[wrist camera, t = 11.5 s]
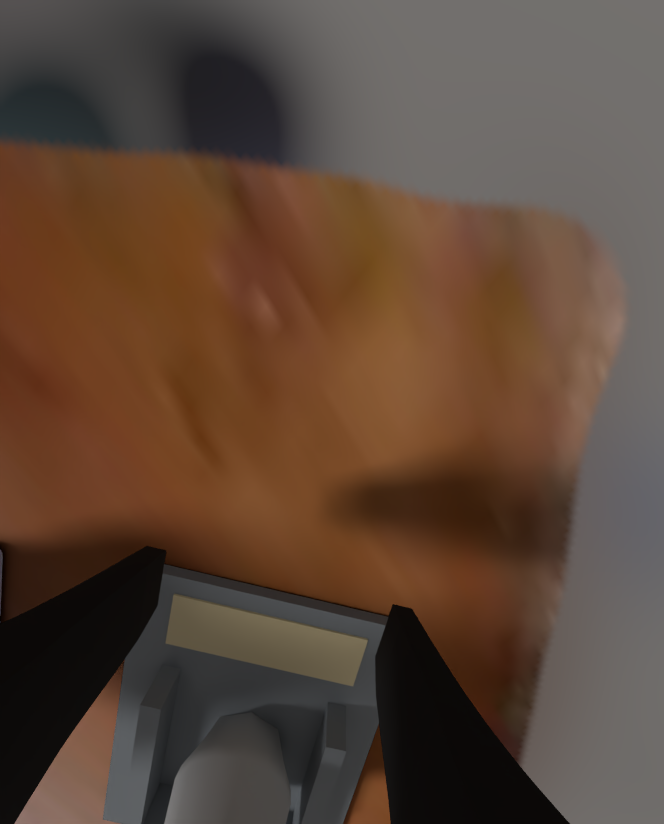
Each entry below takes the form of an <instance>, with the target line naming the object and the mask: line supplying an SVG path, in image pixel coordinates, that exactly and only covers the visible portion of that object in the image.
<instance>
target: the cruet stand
mask: <svg viewBox="0 0 664 824" xmlns="http://www.w3.org/2000/svg"><path fill="white" fill-rule="evenodd" d="M387 620H388V617H387V616H383V615H378V614H374V613H370V612H366V611H361V610H357V609H353V608H349V607H344V606H340V605H336V604H332V603H327V602H323V601H319V600H315V599H310V598H306V597H302V596H298V595H293V594H289V593H285V592H281V591H276V590H272V589H268V588H264V587H259V586H255V585H251V584H246V583H242V582H238V581H234V580H229V579H225V578H221V577H217V576H212V575H208V574H204V573H200V572H195V571H191V570H187V569H183V568H178V567H174V566H170V565H166V564H164V569H163V575H162V581H161V588H160V594H159V600H158V606H157V608H156V610H155V611H154V613H153V615H152V617H151V618H150V620H149V622H148V624H147V625H146V627H145V629H144V631H143V632H142V634H141V636H140V637H139V639H138V641H137V642H136V644H135V645H134V647H133V648H132V649H131V651H130V652H129V654H128V655H127V656H126V658H125V662H124V669H123V676H122V684H121V691H120V698H119V705H118V713H117V720H116V727H115V735H114V742H113V749H112V756H111V764H110V771H109V778H108V785H107V793H106V800H105V807H104V815H103V820H108V821H112V822H117V823H122V824H164V822H165V818H166V814H167V810H168V805H169V801H170V797H171V793H172V789H173V784H174V780H175V777H176V775H177V773H178V771H179V769H180V767H181V765H182V764H183V763H184V762H185V760H186V759H187V758H188V757H189V756H190V755H191V754H192V752H193V751H194V750H195V749H196V748H197V747H198V746H199V744H200V743H201V742H202V741H203V740H204V738H205V737H206V736H207V734H208V733H209V731H210V730H211V729H212V727H213V726H214V724H215V723H216V722H217V720H218V719H219V717H221V716H229V715H236V714H243V713H251V712H252V713H254V714H255V715H257V716H258V717H260V718H261V719H263V720H264V721H266V722H267V723H269V724H270V725H272V726H273V727H275V728H276V729H278V732H279V737H280V743H281V749H282V755H283V761H284V765H285V769H286V773H287V777H288V781H289V785H290V788H291V805H290V809H289V813H288V817H287V821H286V824H343V822H344V819H345V816H346V813H347V811H348V808H349V805H350V802H351V799H352V797H353V794H354V791H355V788H356V785H357V783H358V780H359V777H360V774H361V772H362V769H363V766H364V763H365V760H366V758H367V755H368V752H369V749H370V746H371V744H372V741H373V738H374V735H375V733H376V730H377V727H378V724H379V718H378V710H377V701H376V682H375V655H376V652H377V649H378V647H379V644H380V641H381V638H382V635H383V632H384V629H385V626H386V623H387Z"/></svg>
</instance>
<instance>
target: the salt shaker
mask: <svg viewBox="0 0 664 824" xmlns="http://www.w3.org/2000/svg"><path fill="white" fill-rule="evenodd" d="M290 805H291V788H290V785H289V781H288V777H287V773H286V769H285V765H284V761H283V755H282V749H281V743H280V737H279V732H278V729H276V728H275V727H273V726H272V725H270V724H269V723H267V722H266V721H264V720H263V719H261V718H260V717H258V716H257V715H255V714H254V713H252V712H251V713H243V714H236V715H229V716H221V717H219V719H218V720H217V722H216V723H215V724H214V726H213V727H212V729H211V730H210V731H209V733H208V734H207V736H206V737H205V738H204V740H203V741H202V742H201V743H200V744H199V746H198V747H197V748H196V749H195V750H194V751H193V752H192V754H191V755H190V756H189V757H188V758H187V759H186V760H185V762H184V763H183V764H182V765H181V767H180V769H179V771H178V773H177V775H176V777H175V780H174V784H173V789H172V793H171V797H170V801H169V805H168V810H167V814H166V818H165V822H164V824H286V821H287V817H288V813H289V809H290Z"/></svg>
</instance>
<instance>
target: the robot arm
mask: <svg viewBox="0 0 664 824" xmlns="http://www.w3.org/2000/svg"><path fill="white" fill-rule="evenodd" d="M165 556H166V550H162V549H157V548H153V547H149V546H146V547H144V548H143V549H141V550H139V551H137V552H135V553H134V554H132V555H130V556H128V557H127V558H125V559H123V560H121V561H120V562H118V563H116V564H115V565H113V566H111V567H109V568H108V569H106V570H104V571H102V572H101V573H99V574H97V575H95V576H93V577H92V578H90V579H88V580H86V581H84V582H83V583H81V584H79V585H77V586H75V587H74V588H72V589H70V590H68V591H66V592H64V593H62V594H60V595H58V596H56V597H54V598H52V599H50V600H48V601H47V602H45V603H43V604H41V605H39V606H37V607H35V608H33V609H31V610H29V611H27V612H25V613H23V614H20V615H18V616H16V617H14V618H12V619H10V620H8V621H5V622H3V623H1V624H0V824H14V823H15V821H16V820H17V818H18V817H19V815H20V813H21V812H22V810H23V808H24V807H25V805H26V803H27V802H28V800H29V799H30V797H31V795H32V794H33V792H34V791H35V789H36V787H37V786H38V784H39V782H40V781H41V779H42V778H43V776H44V774H45V773H46V771H47V770H48V768H49V766H50V765H51V763H52V762H53V760H54V758H55V757H56V755H57V754H58V752H59V751H60V749H61V748H62V746H63V745H64V743H65V742H66V740H67V739H68V737H69V736H70V734H71V733H72V731H73V730H74V729H75V727H76V726H77V724H78V723H79V722H80V720H81V719H82V718H83V716H84V715H85V713H86V712H87V711H88V709H89V708H90V706H91V705H92V704H93V702H94V701H95V699H96V698H97V697H98V695H99V694H100V693H101V691H102V690H103V688H104V687H105V686H106V684H107V683H108V681H109V680H110V679H111V677H112V676H113V675H114V673H115V672H116V670H117V669H118V668H119V666H120V665H121V663H122V662H123V661H124V659H125V658H126V656H127V655H128V654H129V652H130V651H131V649H132V648H133V647H134V645H135V644H136V642H137V641H138V639H139V637H140V636H141V634H142V632H143V631H144V629H145V627H146V625H147V624H148V622H149V620H150V618H151V617H152V615H153V613H154V611H155V610H156V608H157V606H158V600H159V594H160V588H161V581H162V575H163V569H164V562H165ZM2 560H3V555H2V551H1V550H0V614H1V587H2ZM375 682H376V701H377V710H378V718H379V727H380V735H381V743H382V751H383V759H384V767H385V775H386V783H387V791H388V799H389V809H390V820H391V824H570V823H569V822H568V821H567V820H566V819H565V818H564V817H563V816H562V815H561V813H560V812H559V811H558V810H557V809H556V808H555V807H554V805H553V804H552V803H551V802H550V801H549V800H548V799H547V797H546V796H545V795H544V794H543V793H542V792H541V791H540V790H539V788H538V787H537V786H536V785H535V784H534V782H533V781H532V780H531V779H530V778H529V777H528V776H527V774H526V773H525V772H524V771H523V769H522V768H521V767H520V766H519V765H518V763H517V762H516V761H515V759H514V758H513V757H512V756H511V754H510V753H509V752H508V751H507V749H506V748H505V747H504V746H503V744H502V743H501V742H500V740H499V739H498V738H497V737H496V735H495V734H494V733H493V731H492V730H491V729H490V727H489V726H488V725H487V723H486V722H485V721H484V719H483V718H482V717H481V715H480V714H479V712H478V711H477V710H476V708H475V707H474V705H473V704H472V702H471V701H470V700H469V698H468V697H467V695H466V694H465V692H464V691H463V689H462V688H461V687H460V685H459V684H458V682H457V681H456V679H455V678H454V676H453V675H452V673H451V671H450V670H449V668H448V667H447V665H446V664H445V662H444V661H443V659H442V657H441V656H440V654H439V653H438V651H437V649H436V648H435V646H434V644H433V643H432V641H431V640H430V638H429V636H428V635H427V633H426V631H425V630H424V628H423V626H422V625H421V623H420V621H419V620H418V618H417V616H416V615H415V613H414V612H413V610H412V609H411V608H406V607H402V606H398V605H394V604H393V605H392V608H391V611H390V614H389V617H388V620H387V623H386V626H385V629H384V632H383V635H382V638H381V641H380V644H379V647H378V649H377V652H376V655H375Z"/></svg>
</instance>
